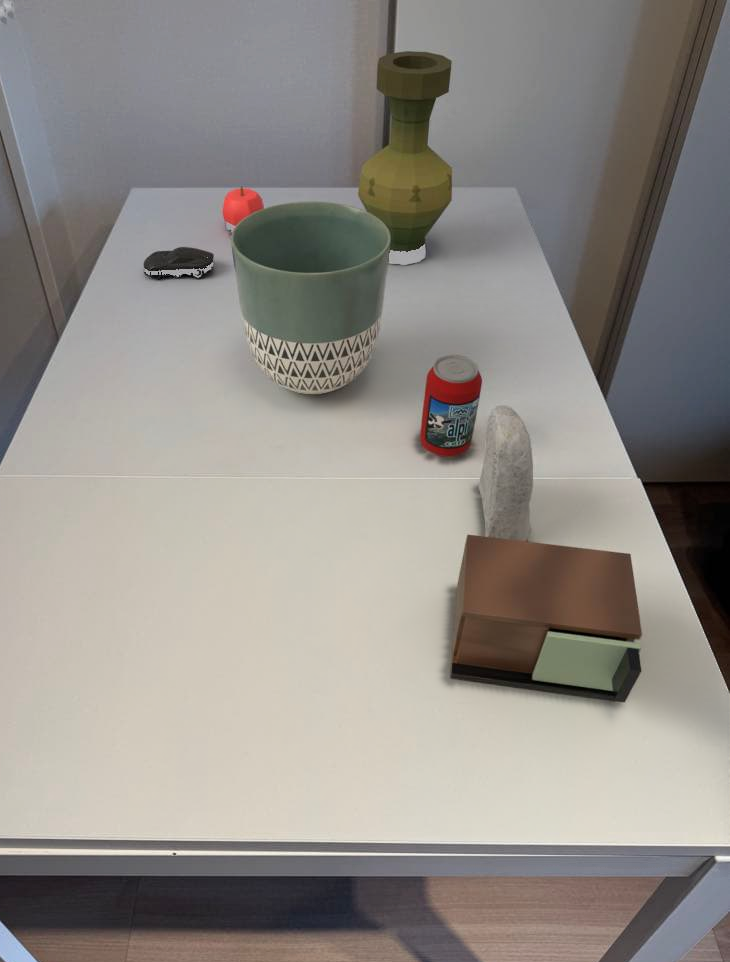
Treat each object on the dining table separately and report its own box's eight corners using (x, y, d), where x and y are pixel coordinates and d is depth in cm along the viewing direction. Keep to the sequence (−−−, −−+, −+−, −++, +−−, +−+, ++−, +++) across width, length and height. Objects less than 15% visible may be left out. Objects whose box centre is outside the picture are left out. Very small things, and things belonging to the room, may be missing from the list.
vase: (336, 248, 139) (339, 58, 117) (403, 224, 145) (417, 40, 123) (396, 284, 130) (411, 86, 108) (465, 257, 136) (491, 65, 114)
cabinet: (606, 609, 82) (630, 553, 76) (616, 701, 74) (644, 647, 68) (455, 590, 84) (467, 534, 77) (450, 678, 76) (462, 623, 70)
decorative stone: (467, 484, 96) (486, 384, 85) (515, 485, 96) (540, 384, 85) (479, 549, 88) (501, 448, 77) (531, 549, 88) (560, 448, 77)
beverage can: (429, 465, 98) (440, 387, 89) (411, 433, 103) (419, 355, 94) (478, 456, 99) (493, 378, 91) (458, 424, 104) (471, 347, 95)
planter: (225, 410, 106) (208, 262, 90) (266, 334, 119) (258, 194, 104) (366, 431, 103) (373, 282, 87) (392, 351, 116) (403, 209, 100)
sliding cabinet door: (618, 686, 74) (640, 643, 69) (621, 713, 72) (644, 670, 67) (532, 674, 75) (547, 631, 70) (532, 701, 73) (548, 658, 68)
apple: (235, 218, 147) (232, 175, 141) (273, 225, 145) (271, 182, 139) (215, 235, 142) (211, 192, 136) (254, 243, 140) (251, 199, 134)
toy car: (147, 264, 134) (143, 243, 132) (216, 263, 135) (213, 242, 132) (143, 281, 130) (139, 259, 128) (214, 279, 131) (211, 258, 128)
